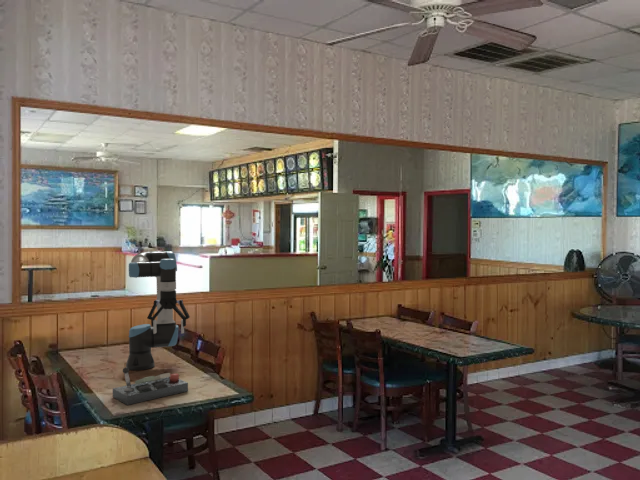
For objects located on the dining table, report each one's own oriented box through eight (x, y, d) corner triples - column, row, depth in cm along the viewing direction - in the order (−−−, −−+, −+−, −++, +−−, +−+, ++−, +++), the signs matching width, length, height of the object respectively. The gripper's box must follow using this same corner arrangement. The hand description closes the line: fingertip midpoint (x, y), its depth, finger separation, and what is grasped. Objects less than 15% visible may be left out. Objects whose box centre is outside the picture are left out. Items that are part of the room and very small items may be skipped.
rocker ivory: (151, 381, 268) (150, 377, 268) (161, 379, 271) (160, 375, 272) (160, 378, 261) (159, 374, 261) (170, 376, 264) (169, 372, 265)
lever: (125, 389, 256) (121, 368, 259) (131, 388, 258) (127, 367, 261) (127, 388, 254) (123, 367, 257) (133, 387, 256) (129, 366, 259)
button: (167, 380, 271) (167, 374, 271) (176, 378, 274) (176, 372, 274) (172, 382, 268) (172, 376, 268) (180, 380, 271) (180, 374, 271)
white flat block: (135, 384, 263) (134, 380, 263) (145, 382, 266) (145, 378, 266) (144, 381, 256) (143, 377, 256) (154, 379, 259) (153, 375, 259)
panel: (112, 396, 259) (112, 386, 259) (172, 383, 279) (171, 374, 279) (127, 405, 247) (126, 394, 247) (188, 391, 267) (187, 381, 267)
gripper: (140, 291, 271) (141, 334, 271) (191, 291, 271) (192, 334, 272) (145, 289, 278) (145, 331, 279) (195, 289, 278) (195, 331, 279)
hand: (168, 333), depth 275 cm, fingers open, 13 cm apart
